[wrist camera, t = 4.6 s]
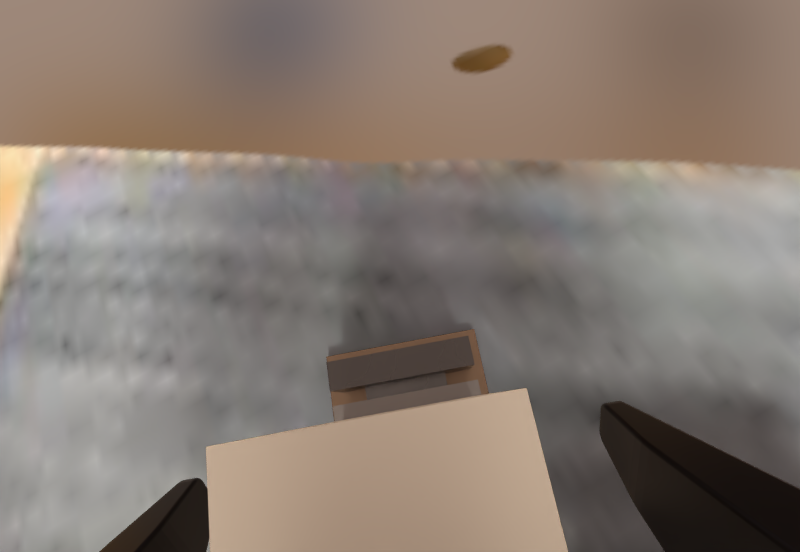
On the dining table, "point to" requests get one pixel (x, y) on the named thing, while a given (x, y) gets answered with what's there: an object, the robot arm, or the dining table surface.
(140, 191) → the dining table surface
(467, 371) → the rail
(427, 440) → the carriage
